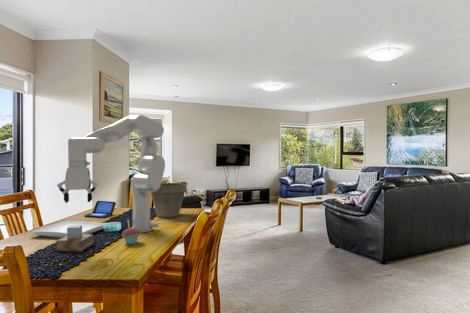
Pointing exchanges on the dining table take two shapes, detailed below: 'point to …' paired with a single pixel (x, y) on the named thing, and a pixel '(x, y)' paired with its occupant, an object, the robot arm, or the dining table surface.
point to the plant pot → (168, 199)
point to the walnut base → (75, 243)
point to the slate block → (74, 231)
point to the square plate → (61, 228)
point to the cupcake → (131, 234)
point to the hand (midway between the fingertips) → (78, 201)
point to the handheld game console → (102, 209)
